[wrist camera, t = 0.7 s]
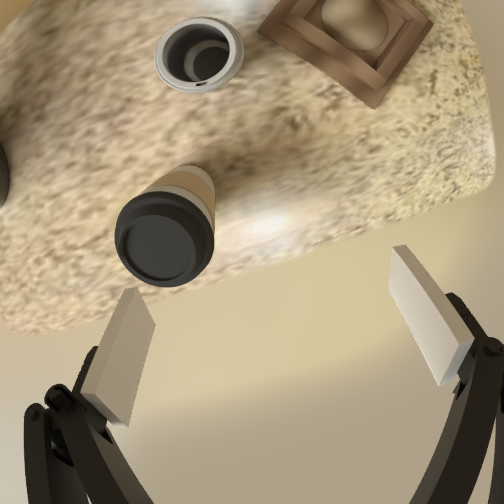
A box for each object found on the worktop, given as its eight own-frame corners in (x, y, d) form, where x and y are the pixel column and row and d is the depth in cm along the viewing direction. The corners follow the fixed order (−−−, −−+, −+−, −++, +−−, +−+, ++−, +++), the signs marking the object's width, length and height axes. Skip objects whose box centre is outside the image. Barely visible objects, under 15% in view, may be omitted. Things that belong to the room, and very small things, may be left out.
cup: (187, 98, 30) (157, 103, 20) (177, 46, 26) (143, 27, 16) (249, 86, 29) (251, 83, 19) (240, 33, 26) (236, 4, 16)
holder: (257, 31, 26) (258, 25, 23) (327, -52, 19) (334, -63, 16) (371, 108, 30) (383, 111, 27) (429, 25, 23) (444, 22, 20)
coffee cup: (234, 170, 35) (226, 224, 22) (211, 233, 39) (195, 311, 26) (163, 147, 33) (112, 188, 20) (146, 212, 37) (101, 280, 24)
